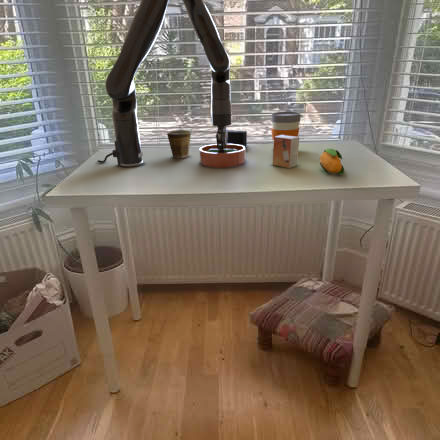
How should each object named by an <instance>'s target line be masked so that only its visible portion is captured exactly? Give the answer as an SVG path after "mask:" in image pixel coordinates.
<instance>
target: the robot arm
mask: <svg viewBox="0 0 440 440" xmlns="http://www.w3.org/2000/svg"><path fill="white" fill-rule="evenodd" d="M169 1H170V0H140V3H139V5H138V7H137V9H136V11H135V13H134V16H133V17H132V20H131V22H130V25H129V27H128V31H127V33H126V35H125V38H124V41H123V44H122V46H121V50H120V52H119V55H118V57H117V59H116V60H115V62H114V64H113V66H112V68H111V70H110V72H109V73H108V75H107V77H106V79H105V83H104V84H105V85H104V87H105V91H106V94H107V95H108V97H109V98H110V99H111V101H112V109H111V110H112V111H111V116H112V117H111V119H112V124H113V128H114V136H115V140H114V148H115V149H112V150H111V153H108V154H106V155H105V157H104V159H103V160H101V159H100V160H99V159H97V163H100V164H105V163H106V162H107V159H108V158H109V157H111V156H112V157H113V158H116V160H117V166H118V167H122V168H133V167H139V166H142V165H143V164H144V161H143V160H144V159H143V156H144V153H143V151H142V146H141V139H140V138H141V137H140V130H139V124H138V116H137V113H138V106H137V105H138V103H137V94H136V86H135V82H134V78H135V76H136V73H137V71H138V69H139V67H140V66H141V64H142V62H143V61H144V60H145V58H146V57H147V55H148V54H149V52H150V51H151V50H152V48H153V46H154V44H155V42H156V40H157V38H158V35H159V33H160V31H161V28H162V25H163V23H164V19H165V16H166V13H167V8H168V5H169ZM182 3H183V5H184V8H185V10H186V13H187V16H188V19H189V21H190V24H191V27H192V29H193V30H194V33H195V35H196V37H197V39H198V42H199V43H200V45H201V47H202V49H203V52H204V54H205V57H206V59H207V61H208V63H209V67H210V72H211V85H210V86H211V88H210V89H211V90H210V93H211V94H210V95H211V105H210V106H211V107H210V109H211V125H212V126H213V127H217V130H216V131H215V139H216V140H215V141H216V144H217V149H218V150H219V153H225V151H224V150H225V149H226V147H227V143H228V142H227V140H228V139H227V135H228V130H229V129H228V128H227V127H228V126H232V100H231V83H230V70H231V69H230V66H231V60H230V56H229V55H228V52H227V50H226V48H225V47H224V44H223V42H222V40H221V37H220V34H219V32H218V29H217V26H216V24H215V22H214V20H213V17H212V16H211V13H210V12H209V9H208V7H207V6H206V3H205V1H204V0H182Z"/></svg>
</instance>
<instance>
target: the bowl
mask: <svg viewBox="0 0 440 440" xmlns="http://www.w3.org/2000/svg"><path fill="white" fill-rule="evenodd" d="M209 149H217V143H215V144H208V145H204V146H202V147H200V148H199V162H200V164H201V165H202V166H205V167H207V168H216V169H217V168H218V169H220V168H221V169H222V168H223V169H225V168H233V167H238V166H241V165H243V164H244V163H245V162H246V147H244V146H242V145H237V144H227V147H226V149H236V150H238V151H236V152H229V153H210V152H207V151H208V150H209Z"/></svg>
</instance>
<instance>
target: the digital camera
mask: <svg viewBox="0 0 440 440" xmlns="http://www.w3.org/2000/svg"><path fill="white" fill-rule="evenodd" d="M247 134H248V131H247V130H236V129H235V130H233V129H228V135H227V139H228V140H227V142H228V143H227V144H237V145H242V146H244V147H245V148H247V146H248V145H247V142H248V139H247V138H248V135H247Z"/></svg>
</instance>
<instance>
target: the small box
mask: <svg viewBox="0 0 440 440" xmlns="http://www.w3.org/2000/svg"><path fill="white" fill-rule="evenodd" d="M272 147H273V149H272V166H276V167H277V166H278V167H281V168H286V169H291V168H293V167H296V166H298V158H299V147H300V136H298V137H295V136H286V135H279V136H275V137H274V143H273V146H272Z"/></svg>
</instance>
